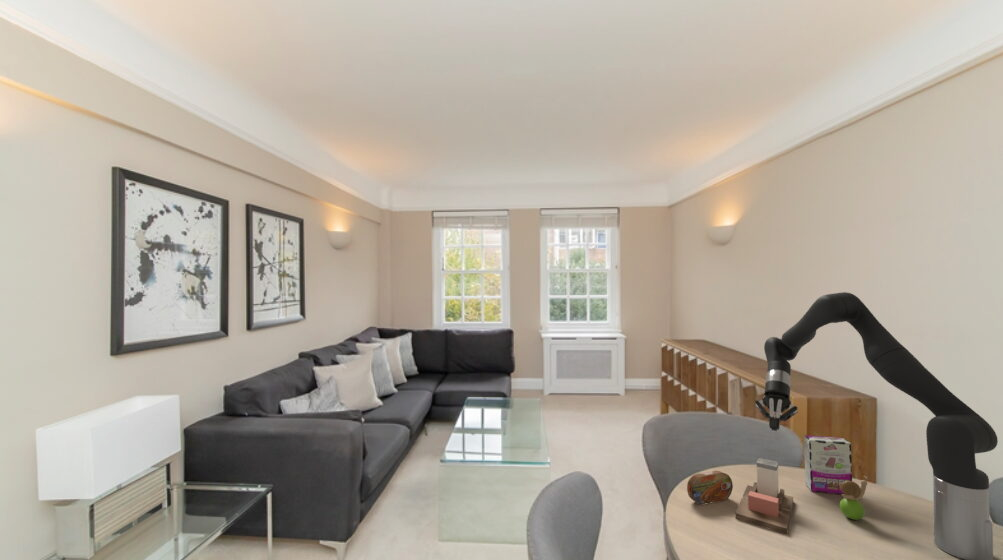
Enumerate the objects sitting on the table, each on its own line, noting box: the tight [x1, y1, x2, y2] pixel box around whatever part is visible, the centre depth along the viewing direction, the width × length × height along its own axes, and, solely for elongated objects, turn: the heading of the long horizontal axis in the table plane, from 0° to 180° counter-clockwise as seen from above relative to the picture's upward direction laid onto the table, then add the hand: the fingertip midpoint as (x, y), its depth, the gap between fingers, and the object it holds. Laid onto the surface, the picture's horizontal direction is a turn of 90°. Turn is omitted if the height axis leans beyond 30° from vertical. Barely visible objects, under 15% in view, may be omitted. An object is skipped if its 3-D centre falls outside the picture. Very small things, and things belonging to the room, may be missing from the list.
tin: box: [686, 470, 734, 506], centre depth 126 cm, size 15×3×8 cm, turn 105°
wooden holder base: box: [735, 481, 794, 535], centre depth 121 cm, size 12×20×4 cm, turn 141°
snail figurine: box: [839, 475, 868, 521], centre depth 116 cm, size 5×6×12 cm
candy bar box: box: [803, 434, 853, 496], centre depth 131 cm, size 11×5×16 cm, turn 73°
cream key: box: [756, 457, 780, 498], centre depth 125 cm, size 5×4×10 cm
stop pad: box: [748, 491, 779, 518], centre depth 118 cm, size 7×3×4 cm, turn 51°
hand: (774, 429), depth 139 cm, fingers closed
